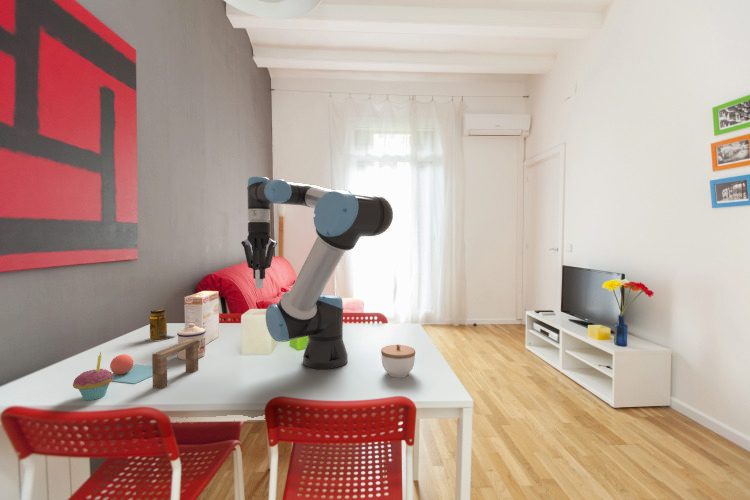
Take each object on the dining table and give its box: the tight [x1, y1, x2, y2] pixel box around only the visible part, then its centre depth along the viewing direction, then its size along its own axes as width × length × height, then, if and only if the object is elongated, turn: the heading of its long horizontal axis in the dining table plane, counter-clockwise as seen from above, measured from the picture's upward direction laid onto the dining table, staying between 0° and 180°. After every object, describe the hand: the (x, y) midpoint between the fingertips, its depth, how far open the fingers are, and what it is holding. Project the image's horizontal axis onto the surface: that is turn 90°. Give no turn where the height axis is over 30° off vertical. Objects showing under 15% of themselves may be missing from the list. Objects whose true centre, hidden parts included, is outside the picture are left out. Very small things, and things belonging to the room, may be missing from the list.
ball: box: [109, 353, 135, 375], centre depth 115 cm, size 6×6×6 cm
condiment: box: [146, 308, 176, 342], centre depth 154 cm, size 7×8×12 cm
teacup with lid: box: [176, 323, 206, 361], centre depth 134 cm, size 12×9×12 cm
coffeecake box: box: [183, 290, 220, 346], centre depth 150 cm, size 15×7×20 cm, turn 178°
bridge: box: [151, 339, 199, 390], centre depth 112 cm, size 3×15×10 cm, turn 167°
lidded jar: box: [380, 343, 416, 379], centre depth 117 cm, size 11×11×9 cm
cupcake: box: [72, 352, 114, 401], centre depth 99 cm, size 9×8×12 cm
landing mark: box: [112, 364, 170, 385], centre depth 115 cm, size 13×13×1 cm
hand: (259, 288), depth 133 cm, fingers closed
